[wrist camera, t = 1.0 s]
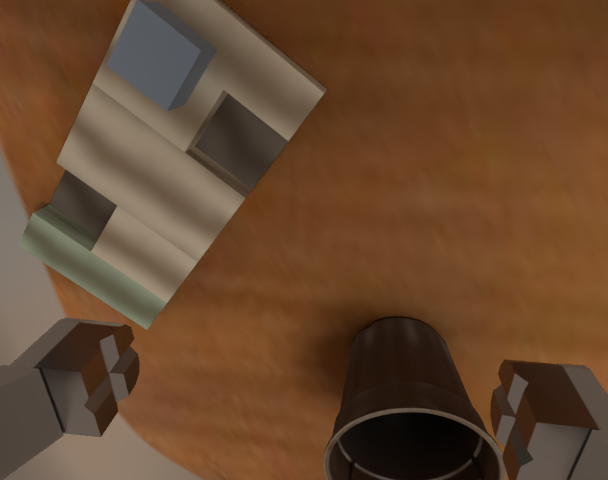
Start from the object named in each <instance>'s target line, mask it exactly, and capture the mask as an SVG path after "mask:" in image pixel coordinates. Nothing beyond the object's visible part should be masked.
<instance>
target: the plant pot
mask: <svg viewBox="0 0 608 480" xmlns="http://www.w3.org/2000/svg"><path fill="white" fill-rule="evenodd" d="M502 456H503V454H502V452H501V450H500V448H499V446H498V444H497V443H496V442H495V440H494V439H493V438H492V437H491V436H490V435H489V434H488V433H487V430H486V428H485V426H484V424H483V421H482V419H481V417H480V416H479V414H478V413H477V411H476V410H475V409H474V408H473V407H472V404H471V402H470V400H469V397H468V395H467V393H466V391H465V388H464V386H463V383H462V381H461V379H460V376H459V374H458V372H457V369H456V367H455V365H454V362H453V360H452V358H451V355H450V353H449V351H448V348H447V345H446V343H445V341H444V339H443V338H441V336H440V335H439V334H438V333H437V332H436V331H435V330H434V329H433V328H432V327H431V326H429V325H427V324H425V323H423V322H421V321H418V320H414V319H409V318H399V317H397V318H386V319H382V320H379V321H376V322H374V323H373V324H372V325H371V326H370V327H368V328H366V329H364V330H361V331H360V332H359V333H358V334H357V336H356V337H355V339H354V341H353V343H352V345H351V349H350V354H349V361H348V368H347V374H346V380H345V386H344V392H343V397H342V402H341V408H340V412H339V414H338V416H337V418H336V421H335V425H334V430H333V435H332V437H331V439H330V441H329V442H328V444H327V447H326V450H325V454H324V462H323V464H324V472H325V476H326V478H327V480H505V479H506V469H505V466H504V462H503V459H502Z"/></svg>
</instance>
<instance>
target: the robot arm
mask: <svg viewBox="0 0 608 480" xmlns="http://www.w3.org/2000/svg"><path fill="white" fill-rule="evenodd" d="M133 340H134V336H133V332H132V329H131V327H130V326H128V325H126V324H119V323H111V322H102V321H94V320H82V319H74V318H64V319H61V320H59V321H58V322H57V323H56V324H54V325H53V327H51V328H50V329H49V330H48V331H47V332H46V333H45V334H43V335H42V336H41V337H40V338H39V339H38V340H37V341H36V342H35V343H34V344H33V345H31V346H30V347H29V348H28V349H27V350H26V351H25V352H24V353H23V354H22V355H21V356H19V357H18V358H17V359H16V360H15V361H14V362H13V363H12V364H11V365H9V366H7V365H2V366H0V480H3V479H4V478H6V477H7V476H8V475H10V474H11V473H12V472H14V471H15V470H17V469H18V468H19V467H21V466H22V465H23V464H25V463H26V462H27V461H29V460H30V459H32V458H33V457H34V456H36V455H37V454H39V453H40V452H41V451H43V450H44V449H46V448H47V447H48V446H50V445H51V444H52V443H54V442H55V441H57V440H58V439H59V438H61V437H62V436H63V433H65V434H76V435H86V436H96V437H101V436H102V435H103V433H104V432H105V430H106V429H107V427H108V426H109V424H110V423H111V421H112V420H113V418H114V417H115V415H116V414H117V412H118V407H117V402H119V401H120V400H122V399H124V398H125V397H127V396H129V394H130V393H131V391H132V389H133V388H134V386H135V384H136V381H137V378H138V375H139V363H140V362H139V358H138V354H137V353H136V352H135V351H134V350H133V349H132V348H131V346H130V344H131V343H132V341H133ZM498 375H499V378H500V381H501V383H502V384H501V385H500V386H499V387H497V388H496V389H495V390H493V395H492V399H491V414H490V416H491V422H492V427H493V431H494V434H495V437H496V439H498V440H499V441H500V442H501V443H502V444H503V445H504V446H505V450H504V453H503V456H502V459H503V462H504V466H505V469H506V472H507V475H508V478H509V480H608V395H607V393H606V392H605V390H604V389H603V387H602V386H601V385H600V383H599V382H598V380H597V379H596V377H595V376H594V374H593V373H592V371H591V370H590V369H589V368H587V367H586V366H584V365H570V364H550V363H539V362H527V361H516V360H504V361H503V362H502V364H501V366H500V369H499V372H498Z"/></svg>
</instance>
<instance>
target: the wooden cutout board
mask: <svg viewBox="0 0 608 480" xmlns="http://www.w3.org/2000/svg"><path fill="white" fill-rule="evenodd" d="M147 1H152V2H158V3H161V4H162V5H163V6H165V7H166V8H167V9H168V10H170V11H171V12H172V13H173V14H174V15H176V16H177V17H178V18H179V19H181V20H182V21H183V22H184V23H186V24H187V25H188V26H189V27H190V28H192V29H193V30H194V31H195V32H197V33H198V34H199V35H200V36H201V37H203V38H204V39H205V40H206V41H208V42H209V43H210V44H211V45H213V46H214V47H215V48H216V49H217V51H216V53H215V55H214V56H213V58H212V60H211V61H210V63H209V65H208V67H207V68H206V70H205V72H204V73H203V75H202V77H201V78H200V80H199V82H198V84H197V85H196V87H195V89H194V90H193V92H192V94H191V96H190V97H189V99H188V101H187V102H186V104H185V105H183V106H181V107H178V108H175V109H172V110H169V111H165V110H164V109H163V108H162V107H160V106H159V105H158V104H156V103H155V102H154V101H152V100H151V99H150V98H148V97H147V96H146V95H145V94H143V93H142V92H141V91H139V90H138V89H137V88H135V87H134V86H133V85H131V84H130V83H129V82H128V81H126V80H125V79H124V78H122V77H121V76H120V75H118V74H117V73H116V72H114V71H113V70H112V69H111V68H109V67H108V66H107V62H108V60H109V58H110V56H111V54H112V52H113V50H114V47H115V45H116V43H117V41H118V39H119V37H120V35H121V32H122V30H123V28H124V26H125V24H126V22H127V20H128V17H129V15H130V13H131V11H132V9H133V7H134V4H135V2H136V0H131V1H130V3H129V5H128V7H127V9H126V12H125V14H124V16H123V18H122V20H121V22H120V25H119V27H118V29H117V31H116V33H115V35H114V38H113V40H112V42H111V44H110V46H109V49H108V51H107V53H106V55H105V57H104V59H103V62H102V64H101V66H100V68H99V70H98V73H97V75H96V77H95V79H94V81H93V83H92V86H91V88H90V90H89V92H88V94H87V96H86V99H85V101H84V103H83V105H82V107H81V110H80V112H79V114H78V116H77V118H76V120H75V123H74V125H73V127H72V129H71V131H70V133H69V136H68V138H67V140H66V142H65V144H64V147H63V149H62V151H61V153H60V155H59V157H58V160H57V162H56V163H57V164H59V165H60V166H62V167H63V168H65V169H66V171H65V173H64V175H63V177H62V179H61V181H60V183H59V185H58V187H57V189H56V192H55V194H54V196H53V198H52V200H51V202H50V204H49V205H47V206H45V207H43V208H41V209H39V210H37V211H36V212H34V213H33V214H32V216H31V218H30V221H29V223H28V225H27V227H26V229H25V231H24V234H23V236H22V238H21V240H20V242H19V245H18V246H20V247H21V248H23V249H24V250H26V251H27V252H29V253H30V254H32V255H33V256H35V257H36V258H38V259H39V260H41V261H42V262H44V263H45V264H47V265H49V266H50V267H52V268H53V269H55V270H56V271H58V272H59V273H61V274H62V275H64V276H65V277H67V278H68V279H70V280H71V281H73V282H75V283H76V284H78V285H79V286H81V287H82V288H84V289H85V290H87V291H88V292H90V293H91V294H93V295H94V296H96V297H97V298H99V299H101V300H102V301H104V302H105V303H107V304H108V305H110V306H111V307H113V308H114V309H116V310H117V311H119V312H120V313H122V314H123V315H125V316H127V317H128V318H130V319H131V320H133V321H134V322H136V323H137V324H139V325H140V326H142V327H143V328H145V329H146V330H147V329H148V328H149V326H150V325H151V324H152V323H153V321H154V320H155V319H156V317H157V316H158V315H159V313H160V312H161V311H162V309H163V308H164V307H165V305H166V304H167V303H168V301H169V300H170V299H171V297H172V296H173V295H174V293H175V292H176V291H177V289H178V288H179V287H180V285H181V284H182V283H183V281H184V280H185V279H186V277H187V276H188V275H189V273H190V272H191V271H192V269H193V268H194V267H195V265H196V264H197V263H198V261H199V260H200V259H201V257H202V256H203V255H204V253H205V252H206V251H207V249H208V248H209V247H210V245H211V244H212V243H213V241H214V240H215V239H216V237H217V236H218V235H219V233H220V232H221V231H222V229H223V228H224V227H225V225H226V224H227V223H228V221H229V220H230V219H231V217H232V216H233V215H234V213H235V212H236V211H237V209H238V208H239V207H240V205H241V204H242V203H243V201H244V200H245V199H246V197H247V196H248V195H249V193H250V192H251V191H252V189H253V188H254V187H255V185H256V184H257V183H258V181H259V180H260V179H261V177H262V176H263V175H264V173H265V172H266V171H267V169H268V168H269V167H270V165H271V164H272V163H273V161H274V160H275V159H276V157H277V156H278V155H279V153H280V152H281V151H282V149H283V148H284V147H285V145H286V144H287V143H288V141H289V140H290V139H291V137H292V136H293V135H294V133H295V132H296V131H297V129H298V128H299V127H300V125H301V124H302V123H303V121H304V120H305V119H306V117H307V116H308V115H309V113H310V112H311V111H312V109H313V108H314V107H315V105H316V104H317V103H318V101H319V100H320V99H321V97H322V96H323V95H324V93H325V92H326V91H327V89H326V88H325V87H324V86H322V85H321V84H320V83H319V82H318V81H316V80H315V79H314V78H313V77H312V76H310V75H309V74H308V73H307V72H306V71H304V70H303V69H302V68H301V67H300V66H299V65H297V64H296V63H295V62H294V61H293V60H291V59H290V58H289V57H288V56H287V55H285V54H284V53H283V52H282V51H281V50H279V49H278V48H277V47H276V46H275V45H274V44H272V43H271V42H270V41H269V40H268V39H266V38H265V37H264V36H263V35H262V34H260V33H259V32H258V31H257V30H256V29H254V28H253V27H252V26H251V25H250V24H249V23H247V22H246V21H245V20H244V19H243V18H241V17H240V16H239V15H238V14H237V13H235V12H234V11H233V10H232V9H231V8H229V7H228V6H227V5H226V4H225V3H224V2H222V1H221V0H147Z"/></svg>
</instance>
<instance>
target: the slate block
mask: <svg viewBox="0 0 608 480" xmlns="http://www.w3.org/2000/svg"><path fill="white" fill-rule="evenodd" d="M216 51H217V49H216V48H215V47H214V46H213V45H211V44H210V43H209V42H208V41H206V40H205V39H204V38H203V37H201V36H200V35H199V34H198V33H197V32H195V31H194V30H193V29H192V28H190V27H189V26H188V25H187V24H186V23H184V22H183V21H182V20H181V19H179V18H178V17H177V16H176V15H174V14H173V13H172V12H171V11H170V10H168V9H167V8H166V7H165V6H163V5H162V4H161V3H158V2H152V1H147V0H136V2H135V4H134V7H133V9H132V11H131V13H130V15H129V17H128V20H127V22H126V24H125V26H124V28H123V30H122V32H121V35H120V37H119V39H118V41H117V43H116V45H115V47H114V50H113V52H112V54H111V56H110V58H109V60H108V62H107V66H108V67H109V68H111V69H112V70H113V71H114V72H116V73H117V74H118V75H120V76H121V77H122V78H124V79H125V80H126V81H128V82H129V83H130V84H131V85H133V86H134V87H135V88H137V89H138V90H139V91H141V92H142V93H143V94H145V95H146V96H147V97H148V98H150V99H151V100H152V101H154V102H155V103H156V104H158V105H159V106H160V107H162V108H163V109H164V110H165V111H169V110H172V109H175V108H178V107H181V106H183V105H185V104H186V102H187V101H188V99H189V97H190V96H191V94H192V92H193V90H194V89H195V87H196V85H197V84H198V82H199V80H200V78H201V77H202V75H203V73H204V72H205V70H206V68H207V67H208V65H209V63H210V61H211V60H212V58H213V56H214V55H215V53H216Z"/></svg>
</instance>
